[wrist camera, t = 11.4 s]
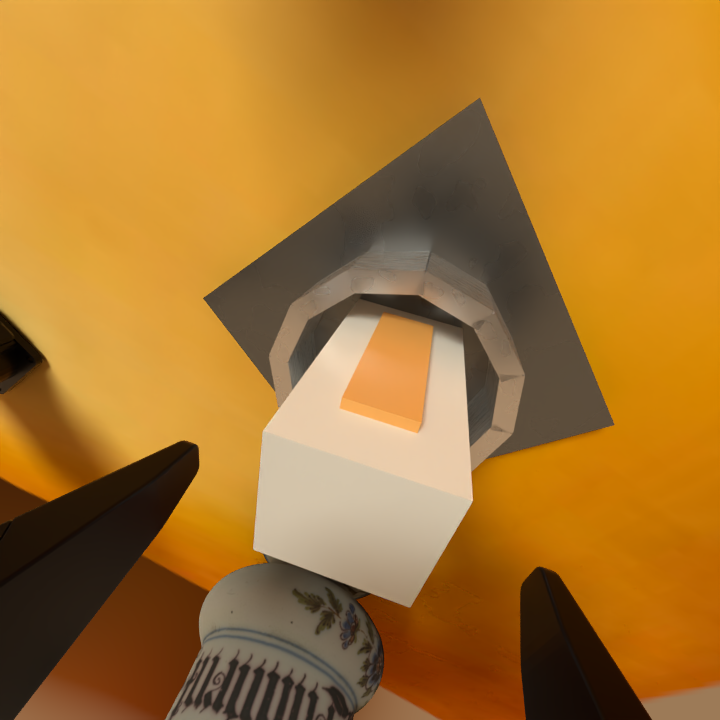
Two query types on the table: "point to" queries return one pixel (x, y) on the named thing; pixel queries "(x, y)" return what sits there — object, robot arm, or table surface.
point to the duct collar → (430, 288)
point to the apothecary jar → (281, 649)
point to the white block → (370, 455)
